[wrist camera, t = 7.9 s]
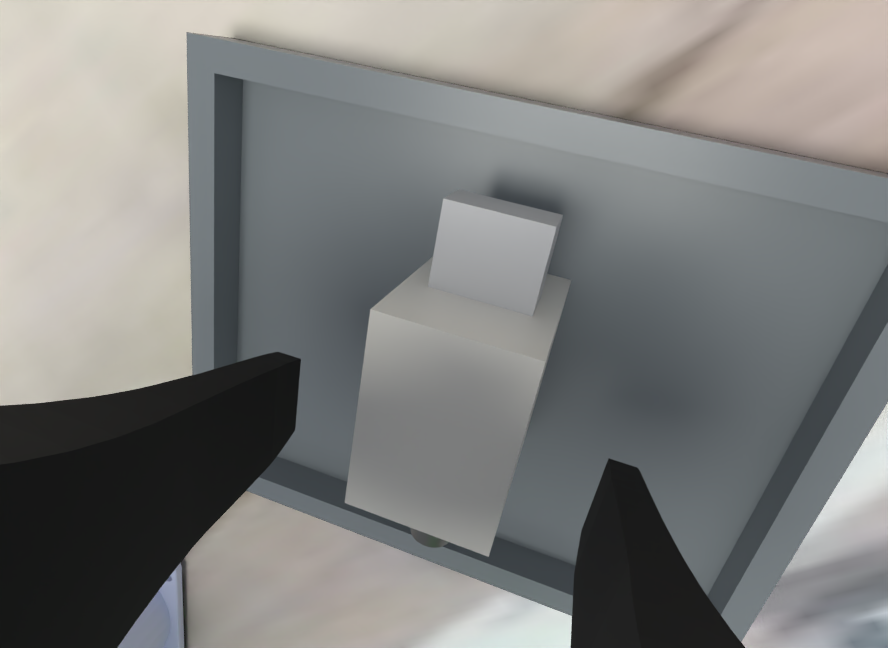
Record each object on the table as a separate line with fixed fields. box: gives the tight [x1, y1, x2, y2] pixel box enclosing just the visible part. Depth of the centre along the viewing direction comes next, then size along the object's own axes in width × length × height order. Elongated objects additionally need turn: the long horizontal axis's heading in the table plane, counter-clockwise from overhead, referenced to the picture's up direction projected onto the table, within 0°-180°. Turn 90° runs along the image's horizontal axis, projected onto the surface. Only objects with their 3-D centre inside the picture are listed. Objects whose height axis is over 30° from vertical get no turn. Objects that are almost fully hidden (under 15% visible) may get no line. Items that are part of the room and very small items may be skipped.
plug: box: [345, 189, 571, 557], centre depth 14 cm, size 9×4×5 cm, turn 170°
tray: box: [187, 32, 888, 641], centre depth 16 cm, size 14×18×2 cm
